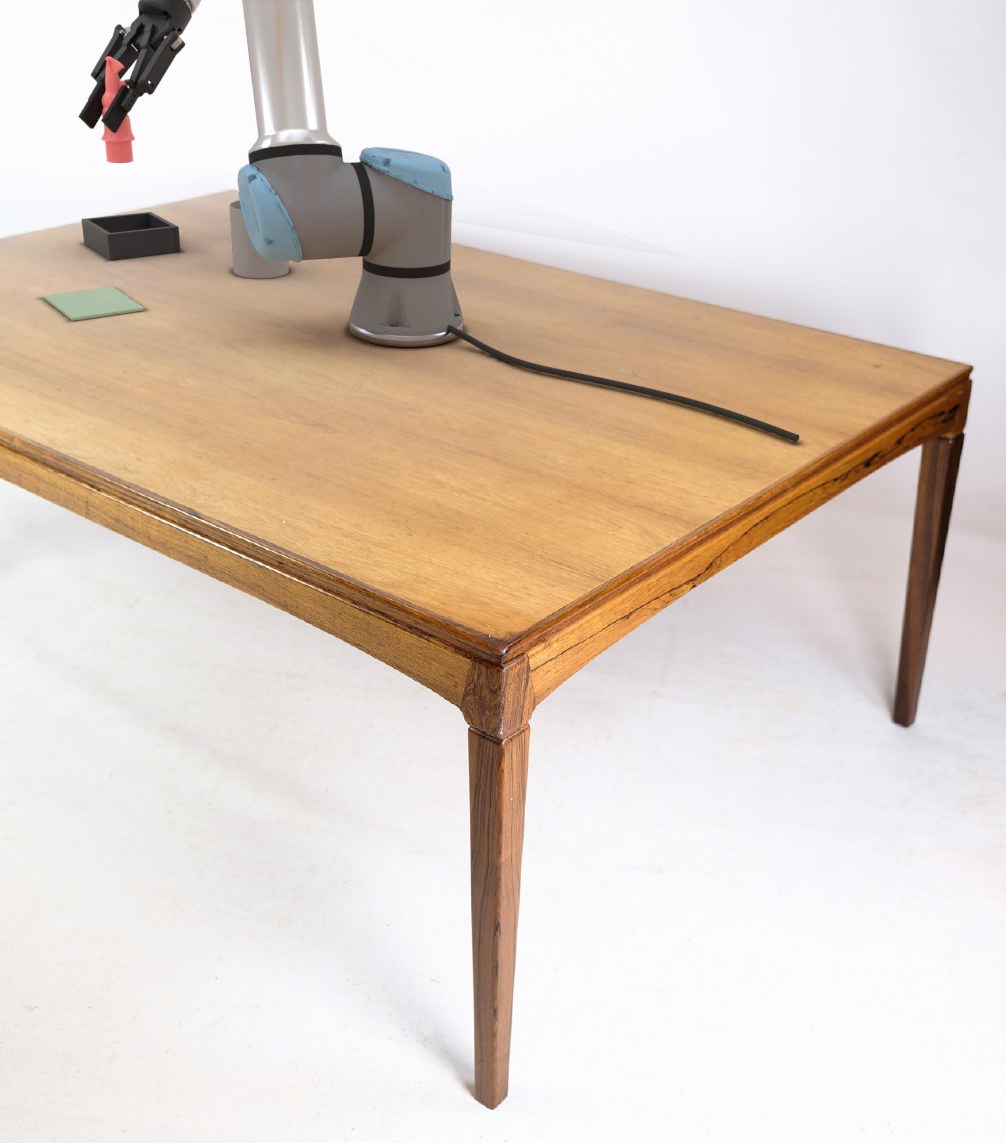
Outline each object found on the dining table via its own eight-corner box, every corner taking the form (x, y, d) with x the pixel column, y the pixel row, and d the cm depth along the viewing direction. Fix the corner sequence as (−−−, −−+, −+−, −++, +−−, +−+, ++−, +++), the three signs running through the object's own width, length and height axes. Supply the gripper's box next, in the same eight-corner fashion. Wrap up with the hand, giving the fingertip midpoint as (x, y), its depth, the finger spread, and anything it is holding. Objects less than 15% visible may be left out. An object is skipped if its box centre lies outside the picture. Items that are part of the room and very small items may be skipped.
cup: (294, 265, 201) (292, 200, 197) (281, 279, 194) (278, 212, 189) (241, 262, 202) (237, 197, 197) (226, 276, 195) (222, 209, 190)
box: (180, 251, 206) (178, 226, 204) (110, 260, 200) (107, 234, 198) (153, 236, 214) (150, 211, 213) (84, 243, 208) (81, 218, 207)
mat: (144, 310, 178) (144, 307, 178) (72, 321, 173) (72, 318, 173) (112, 289, 187) (112, 286, 186) (43, 298, 181) (43, 295, 181)
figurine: (145, 160, 199) (136, 57, 192) (120, 165, 196) (110, 59, 188) (121, 156, 202) (112, 53, 195) (96, 160, 198) (85, 56, 191)
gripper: (225, 22, 197) (152, 148, 192) (147, 13, 205) (75, 134, 201) (197, -15, 190) (120, 114, 186) (117, -22, 199) (42, 101, 194)
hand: (97, 124), depth 193 cm, fingers closed on figurine, 4 cm apart
